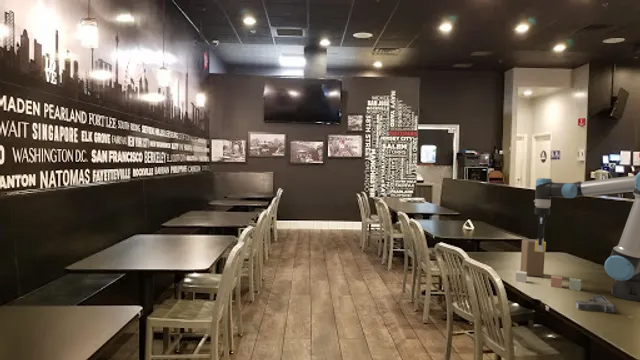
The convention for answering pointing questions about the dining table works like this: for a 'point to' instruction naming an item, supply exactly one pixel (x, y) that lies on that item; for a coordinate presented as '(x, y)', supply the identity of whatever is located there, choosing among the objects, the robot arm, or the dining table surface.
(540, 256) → the wooden block
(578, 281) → the sage cube
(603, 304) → the handgun
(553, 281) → the terracotta cube
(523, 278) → the cream cube
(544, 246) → the mustard cube
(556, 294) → the dining table surface
